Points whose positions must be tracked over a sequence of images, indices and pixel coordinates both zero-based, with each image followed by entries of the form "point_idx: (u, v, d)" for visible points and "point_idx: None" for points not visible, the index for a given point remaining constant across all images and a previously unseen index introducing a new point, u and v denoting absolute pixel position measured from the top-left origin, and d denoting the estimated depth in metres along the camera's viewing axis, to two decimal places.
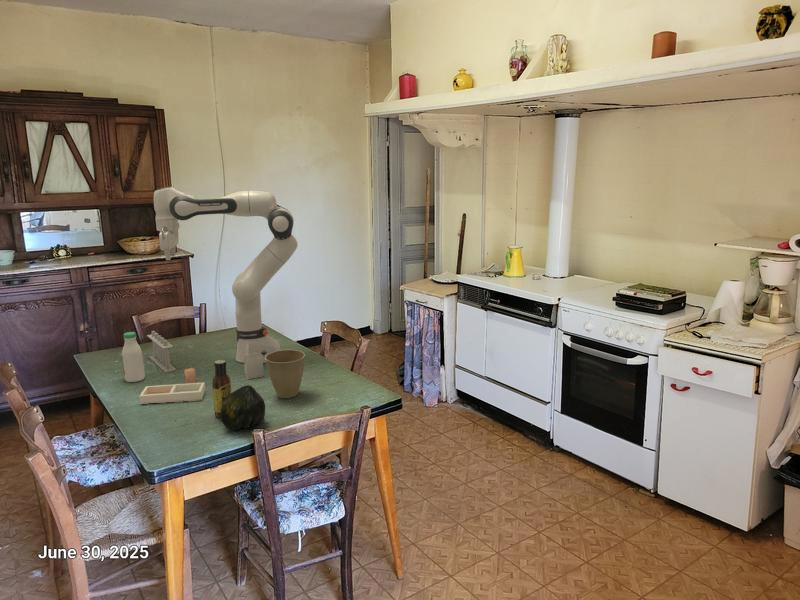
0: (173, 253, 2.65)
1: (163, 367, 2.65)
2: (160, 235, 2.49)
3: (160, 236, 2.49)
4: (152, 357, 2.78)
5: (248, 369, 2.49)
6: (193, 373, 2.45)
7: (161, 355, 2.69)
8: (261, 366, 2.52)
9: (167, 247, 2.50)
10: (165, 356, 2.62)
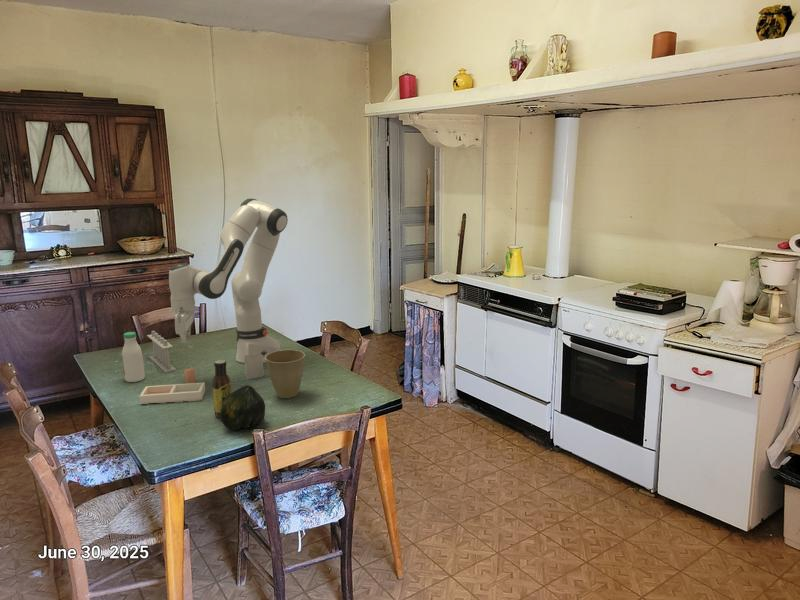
0: (188, 332, 2.46)
1: (163, 367, 2.65)
2: (176, 318, 2.31)
3: (176, 319, 2.31)
4: (152, 357, 2.78)
5: (248, 369, 2.49)
6: (193, 373, 2.45)
7: (161, 355, 2.70)
8: (261, 366, 2.52)
9: (183, 331, 2.31)
10: (165, 356, 2.62)
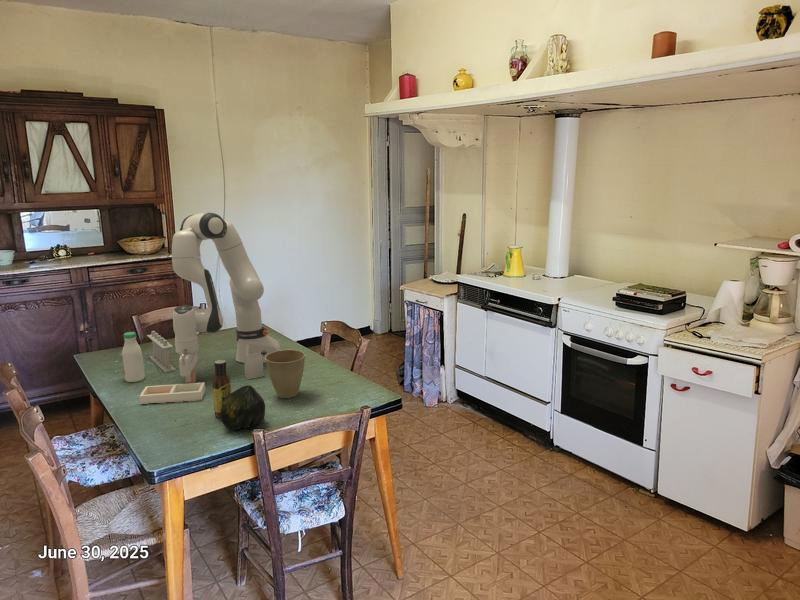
0: None
1: (163, 367, 2.65)
2: (180, 360, 2.35)
3: (180, 361, 2.35)
4: (152, 357, 2.78)
5: (248, 369, 2.49)
6: (193, 373, 2.45)
7: (161, 355, 2.70)
8: (261, 366, 2.52)
9: (187, 373, 2.36)
10: (165, 356, 2.62)
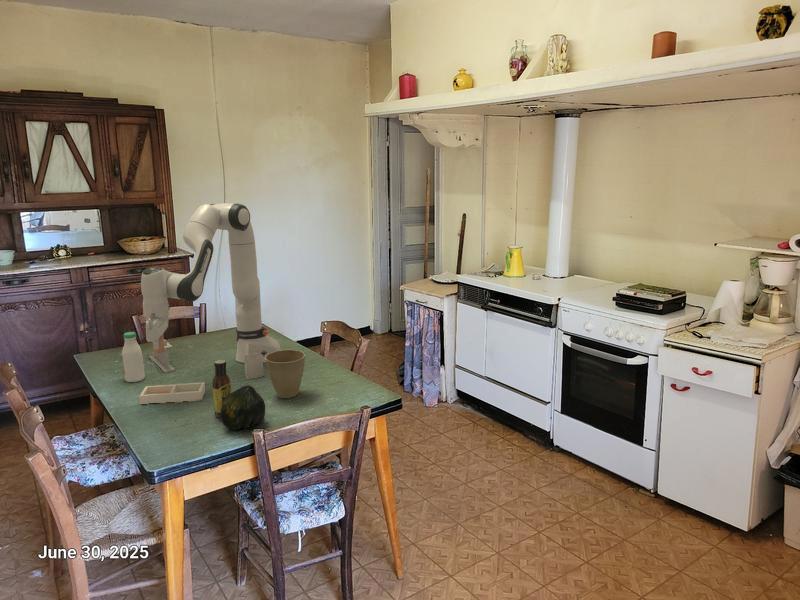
0: None
1: (162, 367, 2.65)
2: (147, 324, 2.18)
3: (147, 326, 2.18)
4: (152, 357, 2.78)
5: (248, 369, 2.50)
6: (161, 340, 2.28)
7: (161, 355, 2.70)
8: (261, 366, 2.52)
9: (154, 338, 2.19)
10: (164, 356, 2.62)
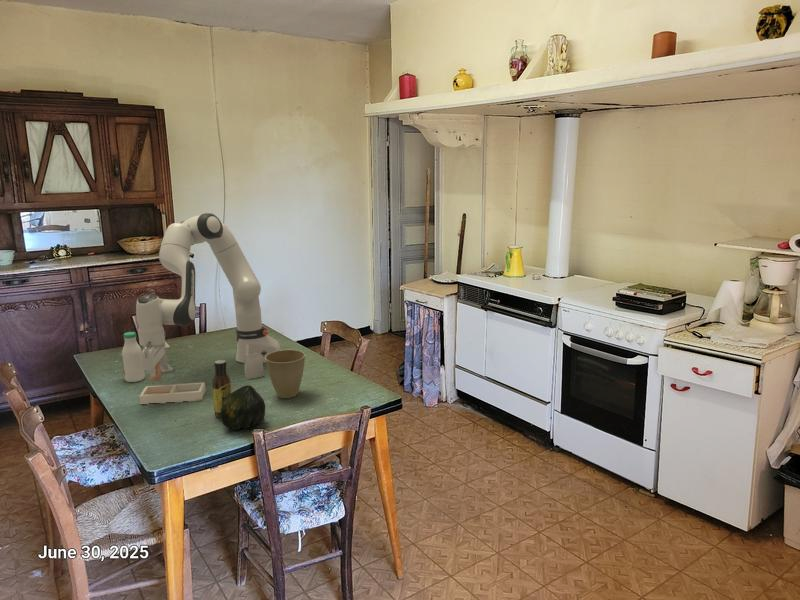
0: None
1: (161, 367, 2.64)
2: (143, 353, 2.18)
3: (143, 354, 2.18)
4: None
5: (248, 369, 2.50)
6: (158, 367, 2.28)
7: None
8: (261, 366, 2.52)
9: (151, 367, 2.19)
10: (163, 356, 2.62)
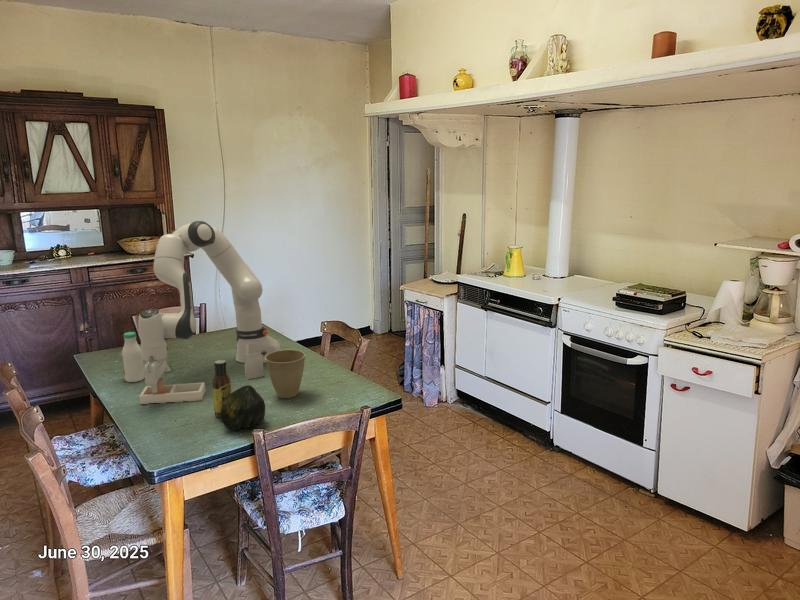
0: None
1: None
2: (145, 368, 2.19)
3: (145, 369, 2.19)
4: None
5: (248, 369, 2.50)
6: (161, 385, 2.30)
7: None
8: (261, 366, 2.52)
9: (153, 381, 2.20)
10: None
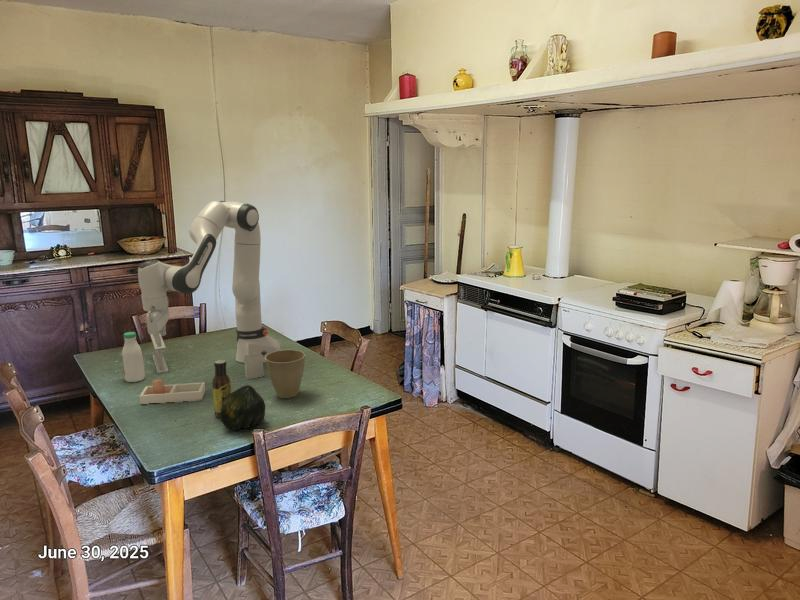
0: (163, 332, 2.35)
1: (158, 367, 2.64)
2: (147, 317, 2.20)
3: (147, 318, 2.20)
4: (154, 356, 2.79)
5: (248, 369, 2.50)
6: (161, 384, 2.30)
7: None
8: (261, 366, 2.52)
9: (156, 330, 2.21)
10: (159, 357, 2.61)
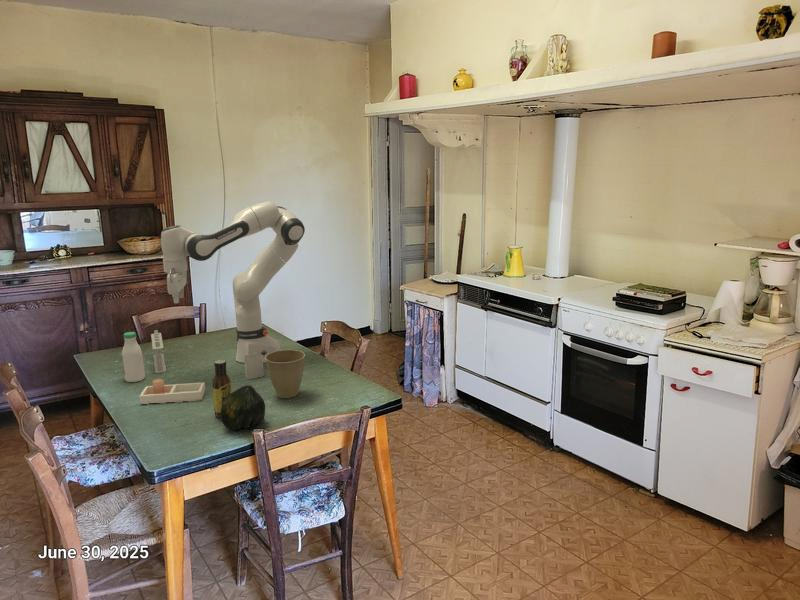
0: (181, 294, 2.50)
1: (156, 368, 2.64)
2: (168, 278, 2.35)
3: (168, 279, 2.35)
4: (155, 356, 2.79)
5: (248, 369, 2.50)
6: (161, 385, 2.30)
7: None
8: (261, 366, 2.52)
9: (175, 290, 2.35)
10: (157, 357, 2.61)
